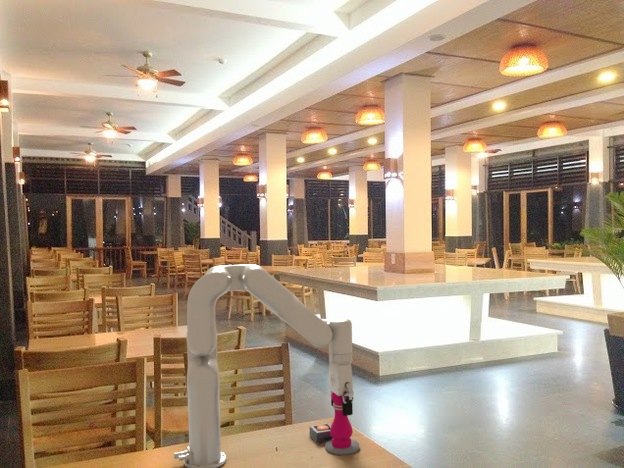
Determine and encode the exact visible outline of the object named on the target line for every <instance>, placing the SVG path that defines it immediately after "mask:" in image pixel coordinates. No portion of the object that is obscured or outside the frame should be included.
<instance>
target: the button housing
mask: <svg viewBox="0 0 624 468" xmlns="http://www.w3.org/2000/svg"><path fill="white" fill-rule="evenodd" d="M321 425H325V426H328V427H329V430H325V431H317V427H318V426H321ZM331 425H332V424H330V423H329V422H326V423H325V422H324V423H319V424H313V425H309V438H311V439H312V440H313V441H314V442H315V443H316V444H323V443H327V442H328V441H330V440H332V439H333V437H332V436H331V434H330V428H331Z"/></svg>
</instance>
